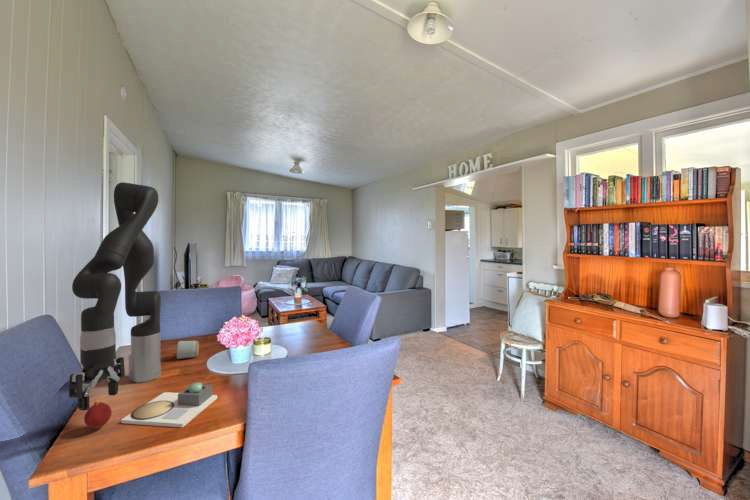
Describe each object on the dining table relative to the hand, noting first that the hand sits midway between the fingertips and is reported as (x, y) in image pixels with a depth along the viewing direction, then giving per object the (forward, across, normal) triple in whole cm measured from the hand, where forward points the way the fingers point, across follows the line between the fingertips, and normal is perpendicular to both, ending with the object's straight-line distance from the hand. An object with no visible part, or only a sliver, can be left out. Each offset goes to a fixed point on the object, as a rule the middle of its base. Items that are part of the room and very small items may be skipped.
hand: (99, 401), depth 90 cm
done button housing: (+8, -16, +18) cm, 25 cm away
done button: (+4, -16, +18) cm, 24 cm away
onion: (+8, 0, -1) cm, 8 cm away
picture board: (+8, -12, +13) cm, 19 cm away
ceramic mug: (+7, -55, -12) cm, 57 cm away
